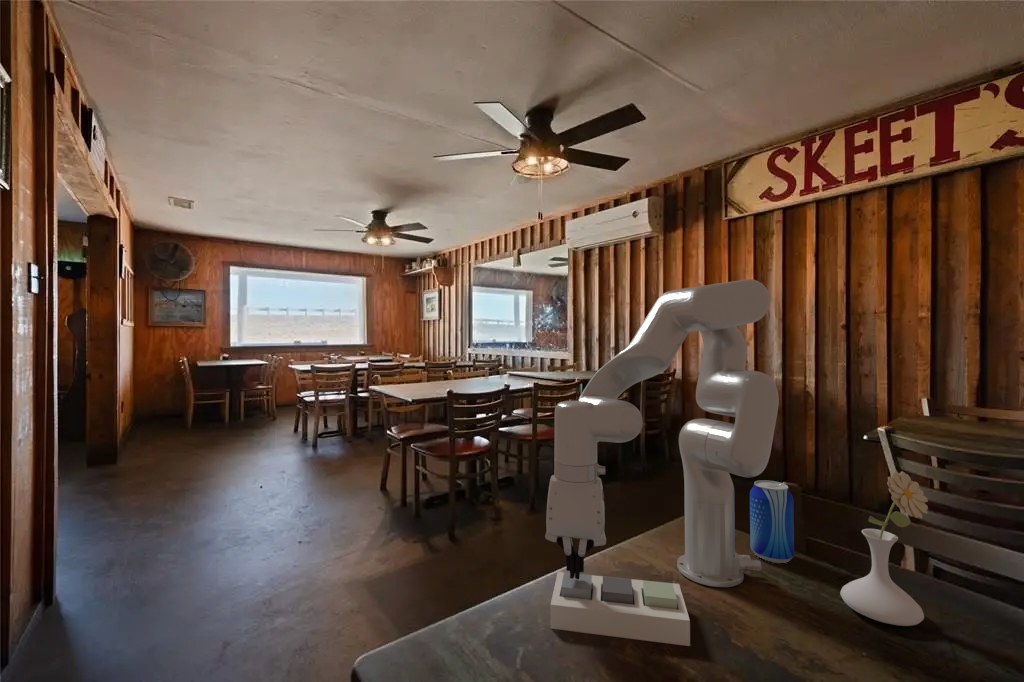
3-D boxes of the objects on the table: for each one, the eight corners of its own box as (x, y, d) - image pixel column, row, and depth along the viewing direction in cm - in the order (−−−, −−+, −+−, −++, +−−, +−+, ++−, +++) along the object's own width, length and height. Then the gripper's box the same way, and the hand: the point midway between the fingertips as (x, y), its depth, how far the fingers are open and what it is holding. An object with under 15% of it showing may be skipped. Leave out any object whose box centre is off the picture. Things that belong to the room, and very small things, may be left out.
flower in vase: (872, 633, 74) (870, 480, 74) (825, 594, 85) (824, 461, 85) (954, 634, 73) (952, 480, 73) (896, 595, 85) (895, 462, 85)
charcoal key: (631, 596, 80) (631, 579, 80) (633, 612, 75) (632, 594, 75) (602, 593, 81) (602, 576, 81) (602, 609, 76) (602, 591, 77)
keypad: (679, 606, 81) (679, 583, 82) (690, 646, 71) (689, 620, 71) (557, 592, 86) (557, 571, 86) (550, 628, 75) (550, 604, 75)
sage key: (672, 600, 79) (672, 583, 79) (677, 617, 74) (676, 599, 74) (643, 597, 80) (642, 580, 80) (645, 613, 75) (645, 595, 75)
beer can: (800, 567, 95) (800, 491, 95) (757, 564, 97) (756, 489, 97) (785, 549, 103) (784, 480, 103) (745, 546, 105) (744, 478, 105)
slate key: (591, 591, 82) (591, 575, 82) (590, 607, 77) (590, 590, 77) (564, 588, 83) (564, 572, 83) (561, 604, 78) (561, 586, 78)
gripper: (618, 468, 82) (618, 569, 82) (537, 463, 85) (536, 560, 85) (619, 480, 75) (618, 591, 75) (530, 474, 78) (529, 581, 78)
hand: (575, 574), depth 80 cm, fingers closed
